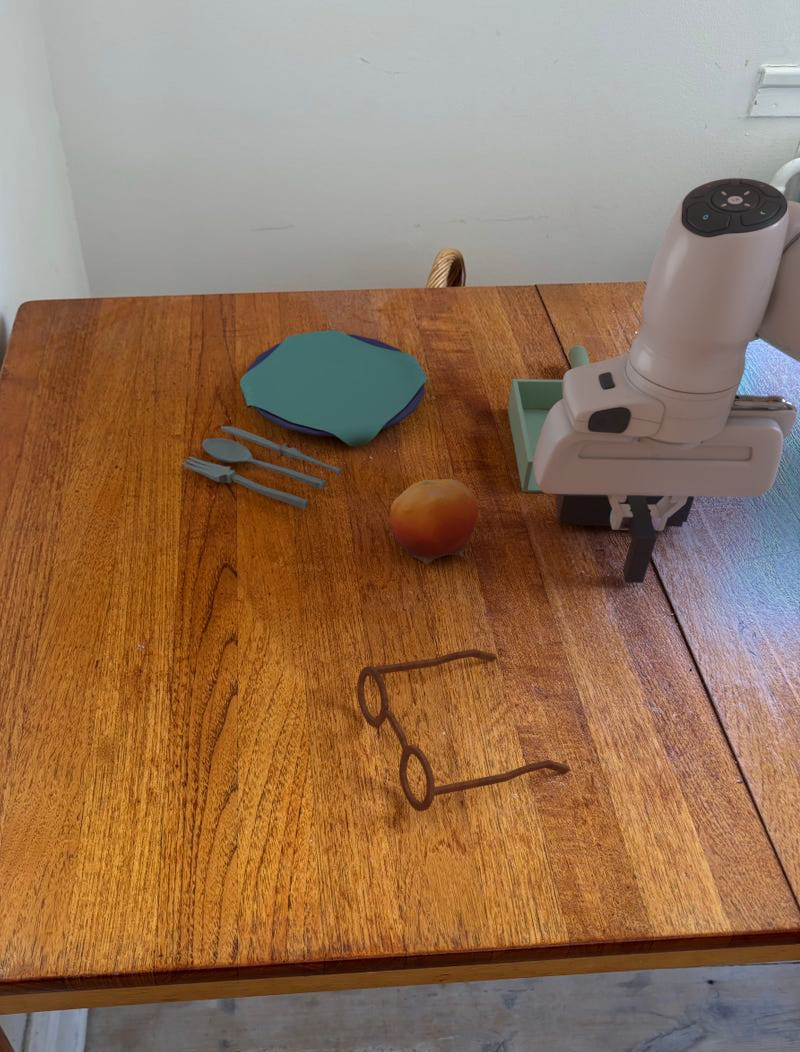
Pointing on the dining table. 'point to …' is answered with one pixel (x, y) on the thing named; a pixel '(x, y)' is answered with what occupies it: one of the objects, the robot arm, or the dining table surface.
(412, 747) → the glasses
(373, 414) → the cutlery set
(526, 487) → the dustpan
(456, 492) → the fruit
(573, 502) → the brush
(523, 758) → the dining table surface
